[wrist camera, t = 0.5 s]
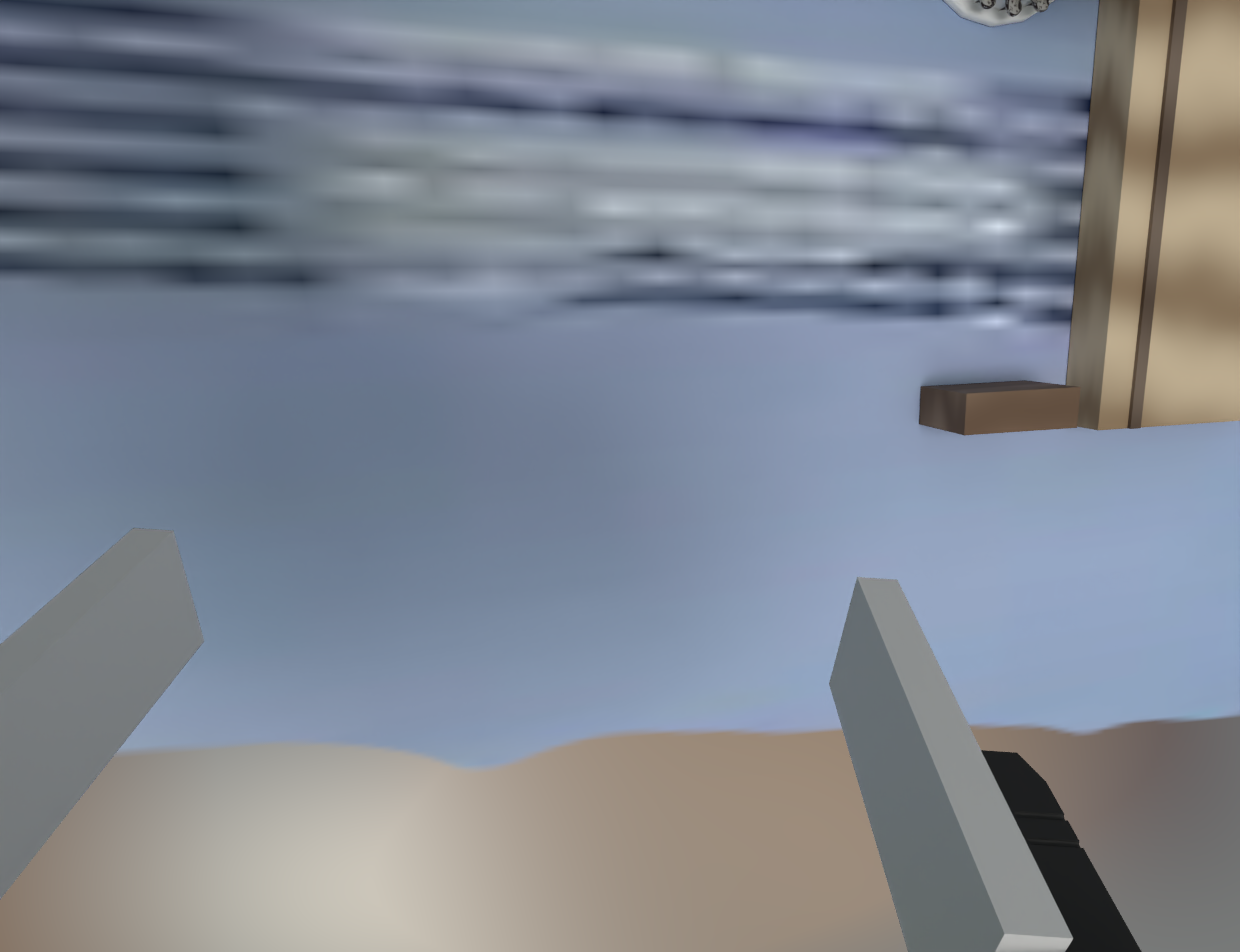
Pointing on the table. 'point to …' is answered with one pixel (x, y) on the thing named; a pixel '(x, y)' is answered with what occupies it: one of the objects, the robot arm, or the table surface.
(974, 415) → the brown flat block
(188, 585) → the robot arm
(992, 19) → the decorative candle
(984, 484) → the table surface
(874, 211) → the table surface
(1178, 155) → the oak board
